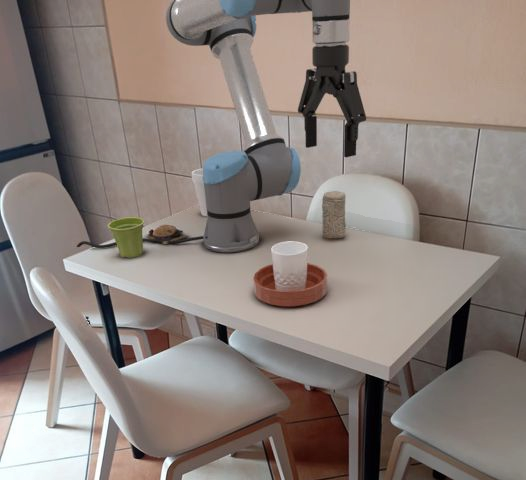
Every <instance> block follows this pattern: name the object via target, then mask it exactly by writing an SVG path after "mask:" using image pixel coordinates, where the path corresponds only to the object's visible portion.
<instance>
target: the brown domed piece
mask: <svg viewBox="0 0 526 480" xmlns="http://www.w3.org/2000/svg"><path fill="white" fill-rule="evenodd" d="M146 237H147V238H148V239H158V240H164V241H163V243H162V244H163V245H165V246H166V245H169V244H168V242H166V241H165V240H169V241H176V240H183V239H187V238H188V235H186V234H184V231H183V230H180V229H179V228H177V227H176V226H174V225H171V224H162V225H159V226H157V227H156V228H154V229H153V228H152V229H149V231H148V234H147V236H146Z"/></svg>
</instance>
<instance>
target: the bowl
mask: <svg viewBox="0 0 526 480" xmlns="http://www.w3.org/2000/svg"><path fill="white" fill-rule="evenodd" d="M252 280H253V291H254V292H253V293H254V295H255V297H256V298H257V299H258V300H260V302H263V303H266V304H268V305H271V306H272V305H273V306H278V307H299V306H306V305H309V304H312V303H315V302H317V301H319V300H320V299H323V298H324V296H326V295H327V292H328V273H327V272H326V270H325V269H324V268H322V267H320V266H319V265H317V264H313V263H311V262H307V278H306V289H303V290H295V291H280V290H276V288H275V279H274V272H273V263H272V264H268V265H265V266H263V267H261V268H260V269H258V270H257V271H256V272H255V273H254V275H253V279H252Z"/></svg>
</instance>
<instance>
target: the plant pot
mask: <svg viewBox="0 0 526 480" xmlns="http://www.w3.org/2000/svg"><path fill="white" fill-rule="evenodd" d="M144 224H145V220H144V219H143V218H141V217H137V216H136V217H135V216H132V217H131V216H130V217H122V218H118V219H115V220H112V221H110V222H109V223H108V224H107V228H108V229H109V230H110V232H111V234H112V236H113V238H114V242H116V244H117V245H116V246H117V249H118V253H119V255H120V257H122V258H128V259H132V258H136V257H139V256H141V254H143V253H144V241H143V238H144V237H143V228H144Z"/></svg>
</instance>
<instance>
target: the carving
mask: <svg viewBox="0 0 526 480" xmlns="http://www.w3.org/2000/svg"><path fill="white" fill-rule="evenodd" d="M321 201H322V204H321V211H322V215H321V217H322V235H323V237H324V238H326V239H341V238H344V237H345V235H346V230H347V226H346V225H347V224H346V193H345V192H344V191H337V190H333V191H327V192H325V193H323V196H322V199H321Z"/></svg>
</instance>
